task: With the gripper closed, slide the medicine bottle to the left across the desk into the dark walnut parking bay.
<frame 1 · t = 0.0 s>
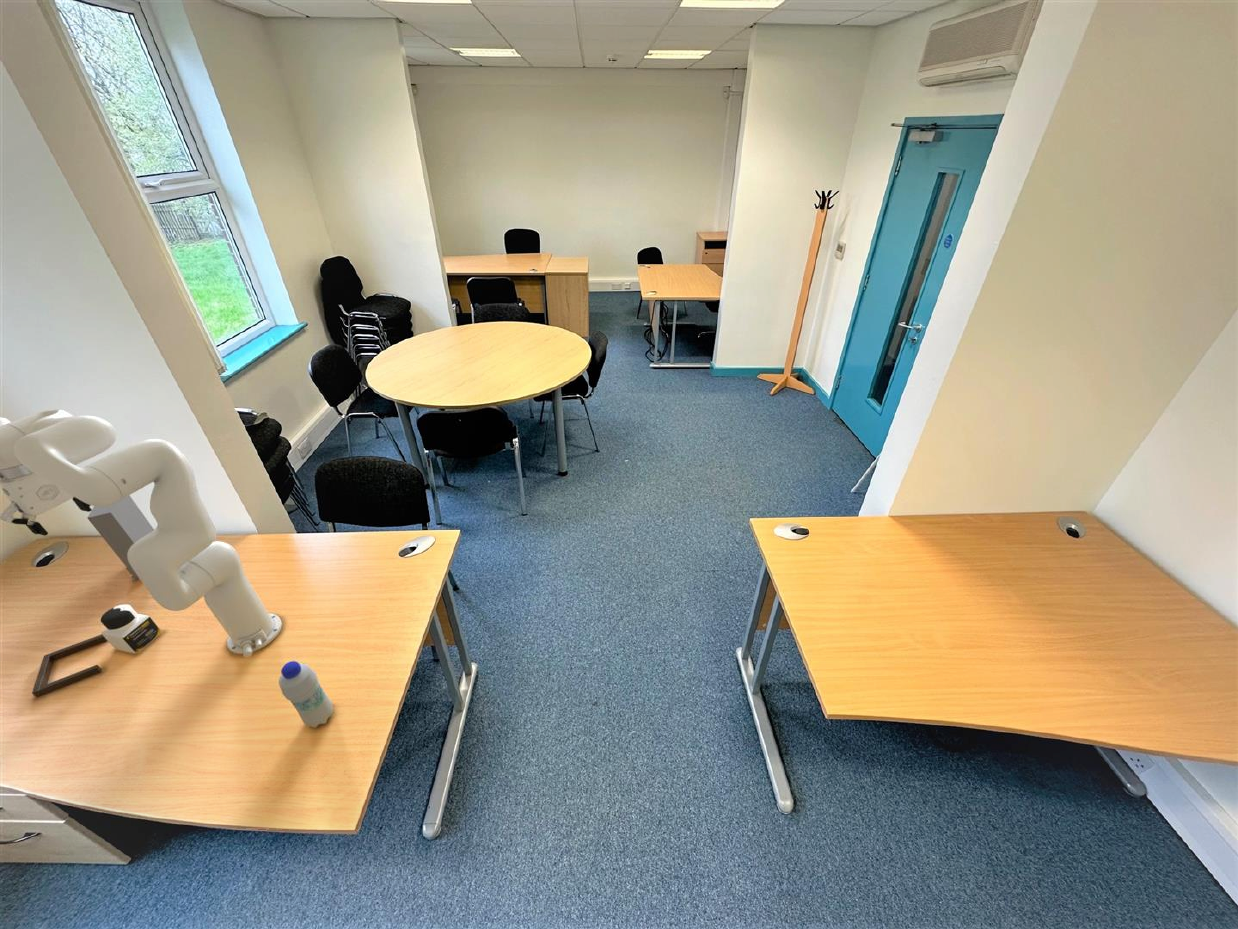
hand: (65, 521, 125), 31 cm above the table, tool pointing down, fingers open, 9 cm apart
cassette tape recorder: (151, 563, 156), on the table
bottle: (321, 717, 114), on the table
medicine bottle: (140, 641, 131), on the table
parking bay: (77, 665, 125), on the table
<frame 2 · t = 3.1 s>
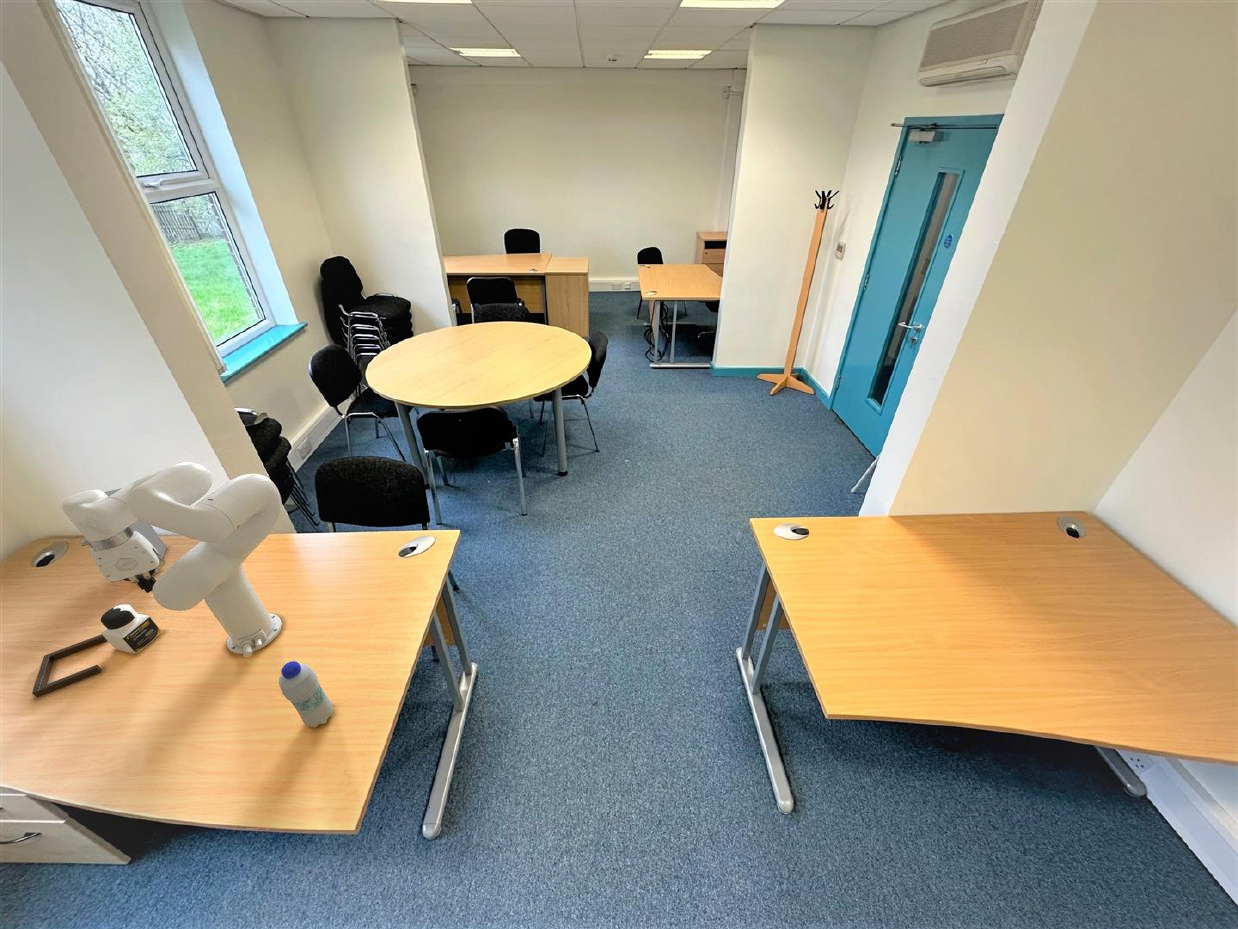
hand: (151, 588, 127), 15 cm above the table, tool pointing down, fingers closed
nothing on the table moved.
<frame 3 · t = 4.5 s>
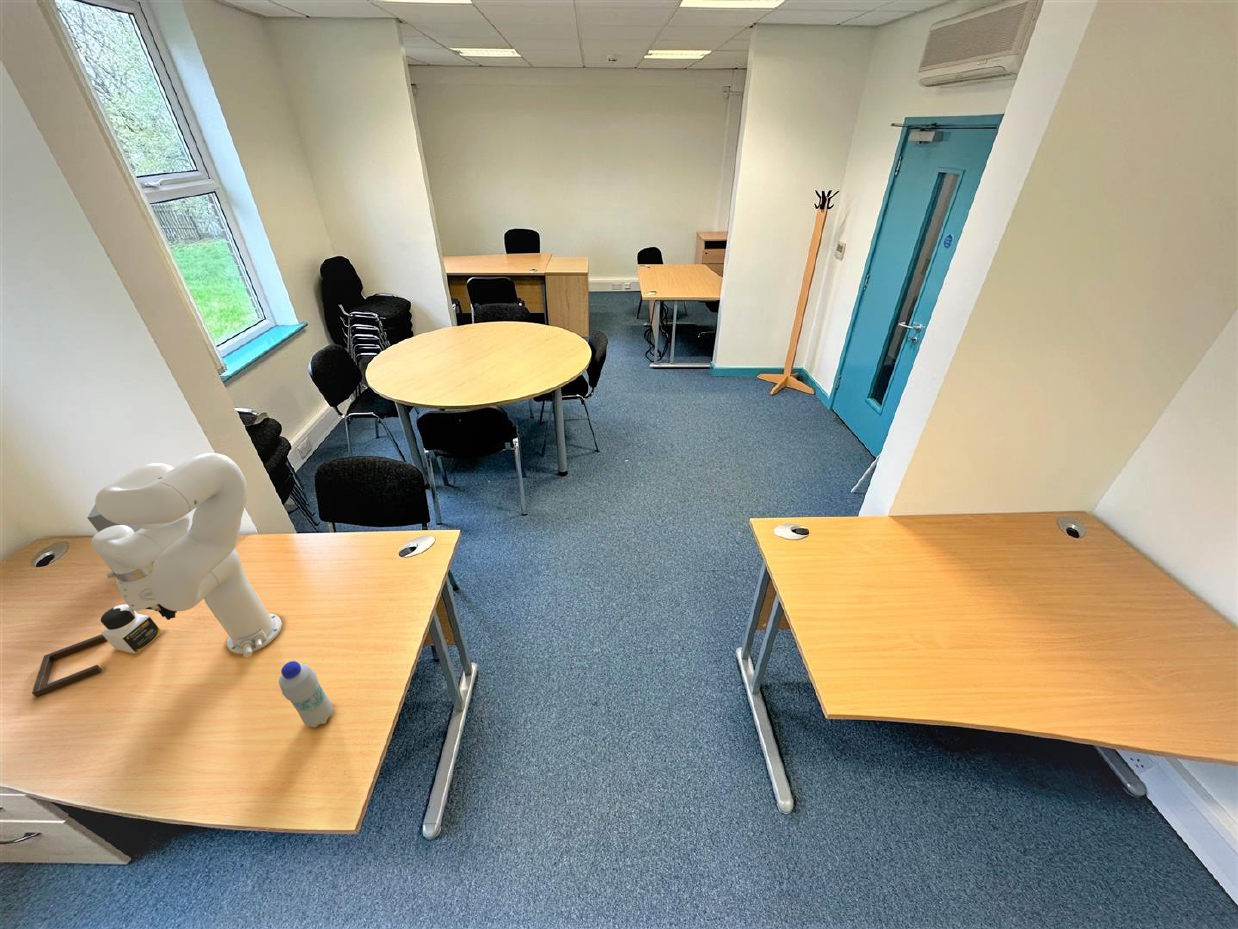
hand: (171, 615, 133), 4 cm above the table, tool pointing down, fingers closed
nothing on the table moved.
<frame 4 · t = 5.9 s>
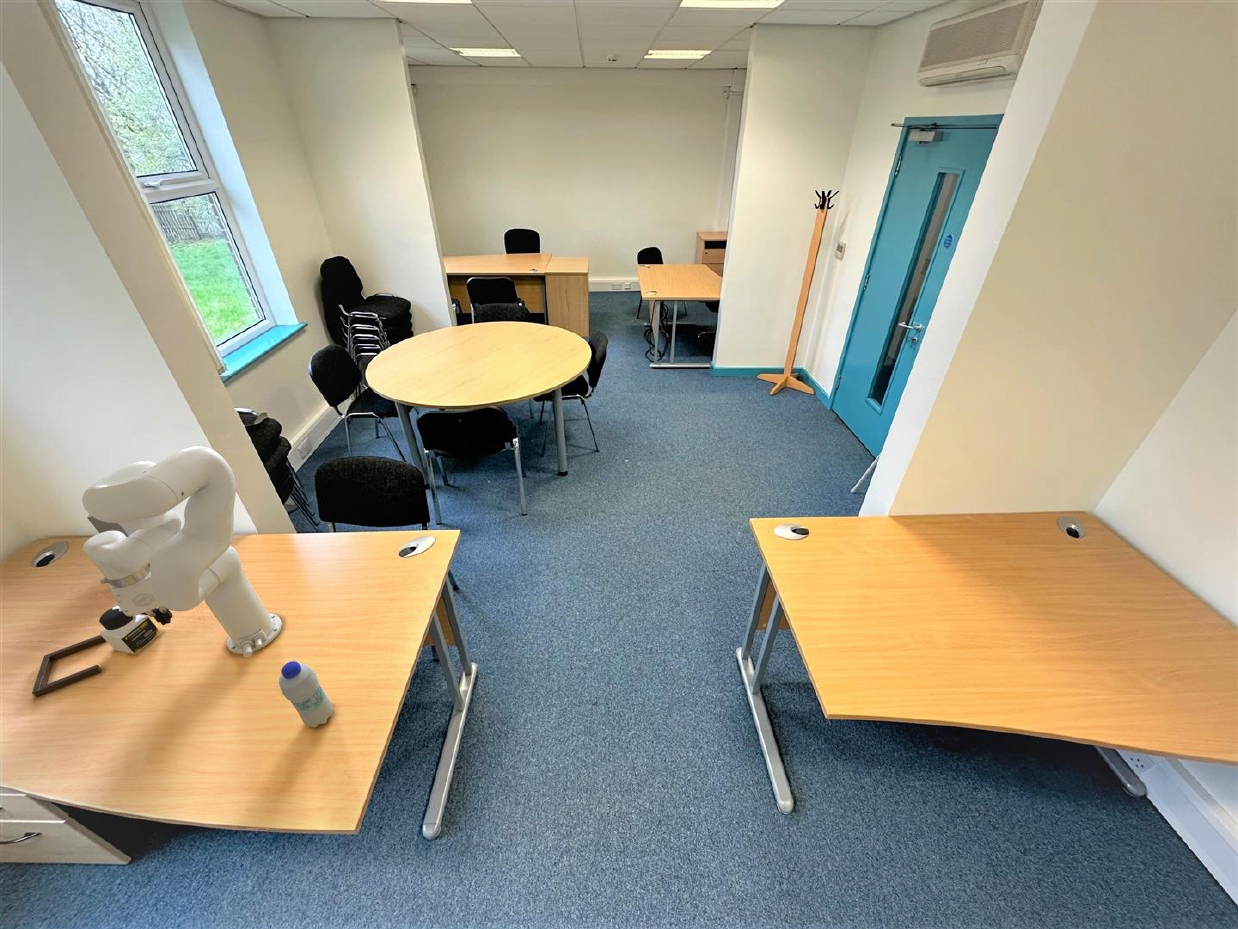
hand: (167, 620, 133), 3 cm above the table, tool pointing down, fingers closed
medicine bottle: (139, 642, 131), on the table, touching gripper
everything else where it was.
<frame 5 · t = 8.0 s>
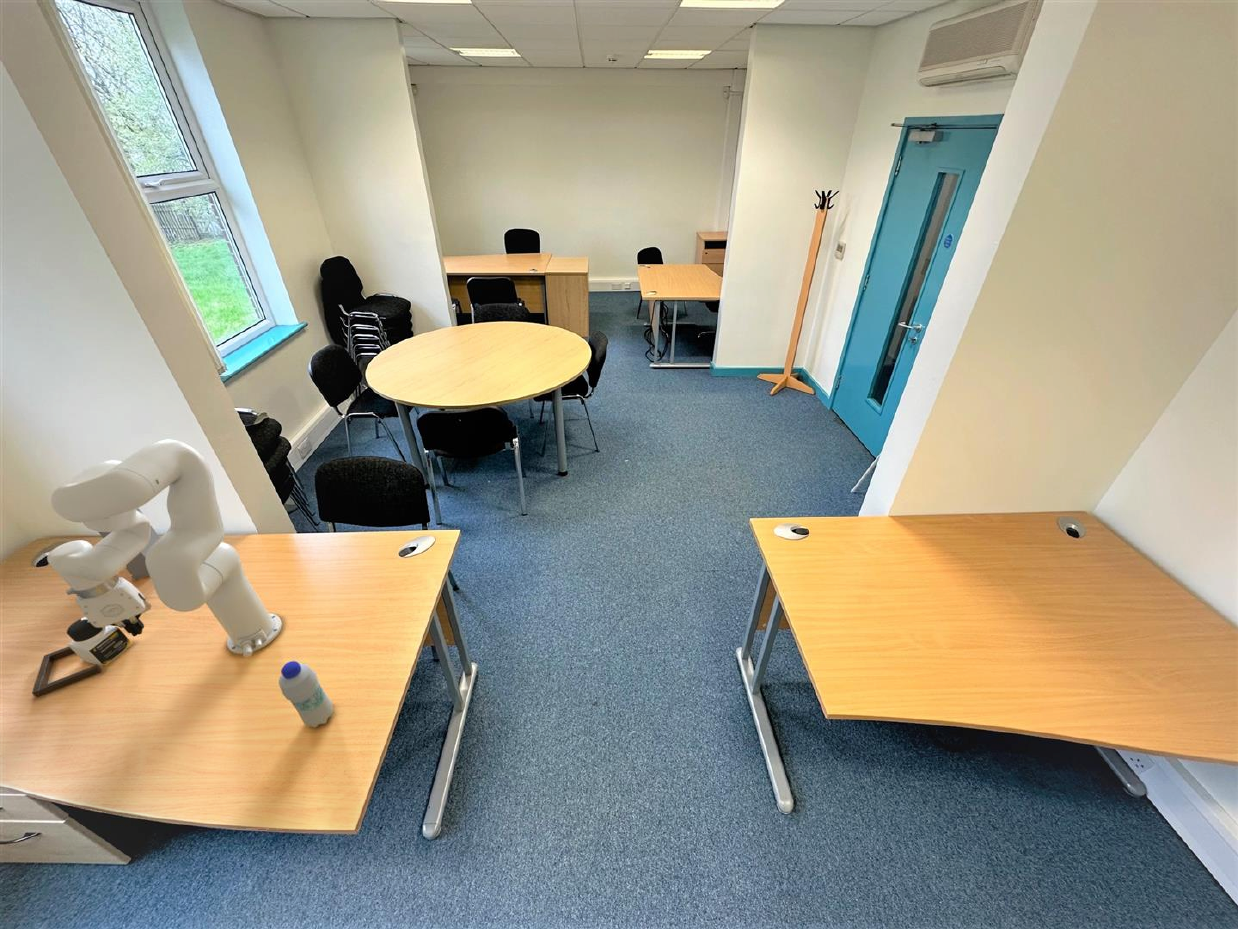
hand: (138, 631, 130), 3 cm above the table, tool pointing down, fingers closed
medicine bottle: (109, 653, 128), on the table, touching gripper
everything else where it was.
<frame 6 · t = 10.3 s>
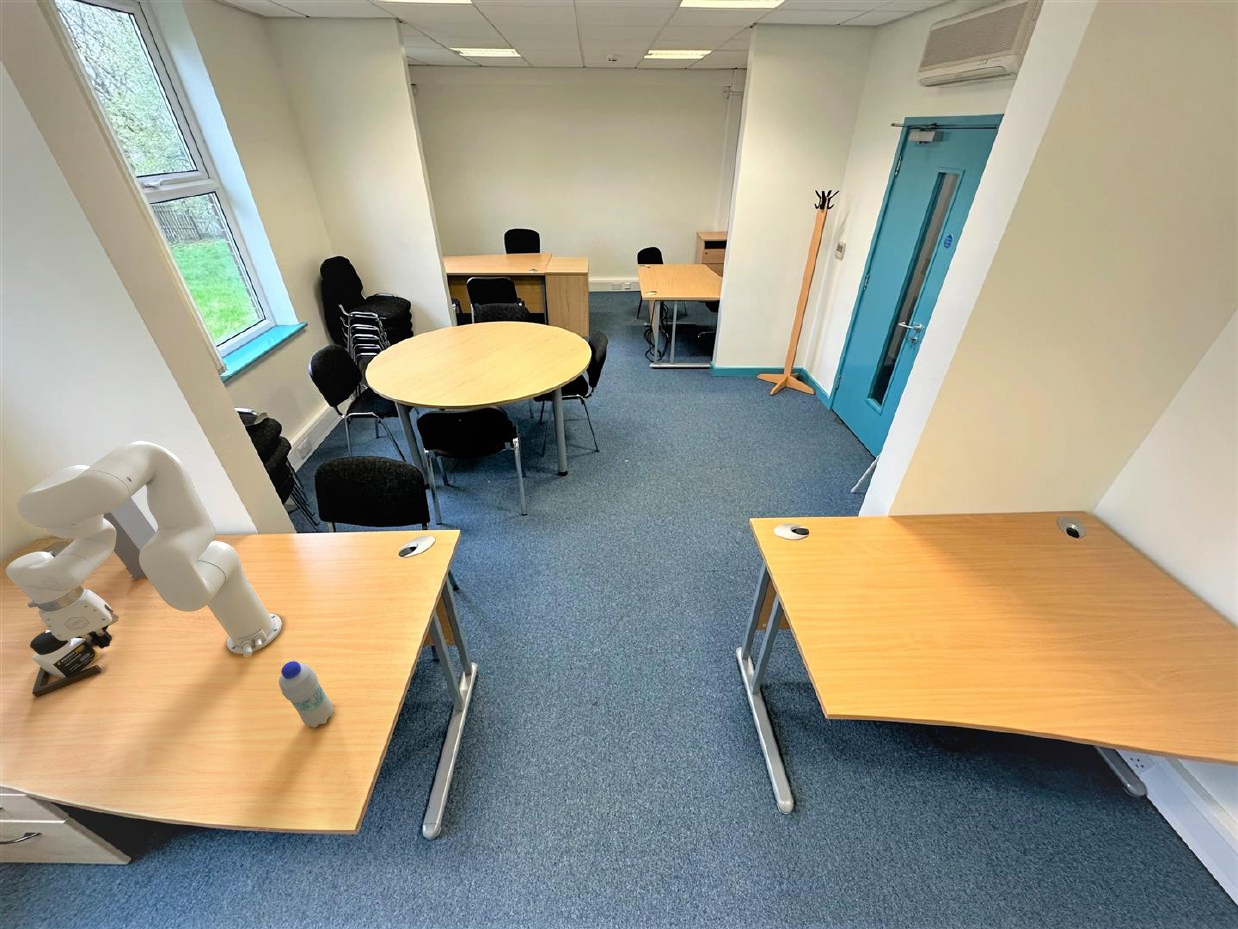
hand: (106, 643, 127), 3 cm above the table, tool pointing down, fingers closed
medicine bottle: (76, 665, 125), on the table, touching gripper, parking bay
everything else where it was.
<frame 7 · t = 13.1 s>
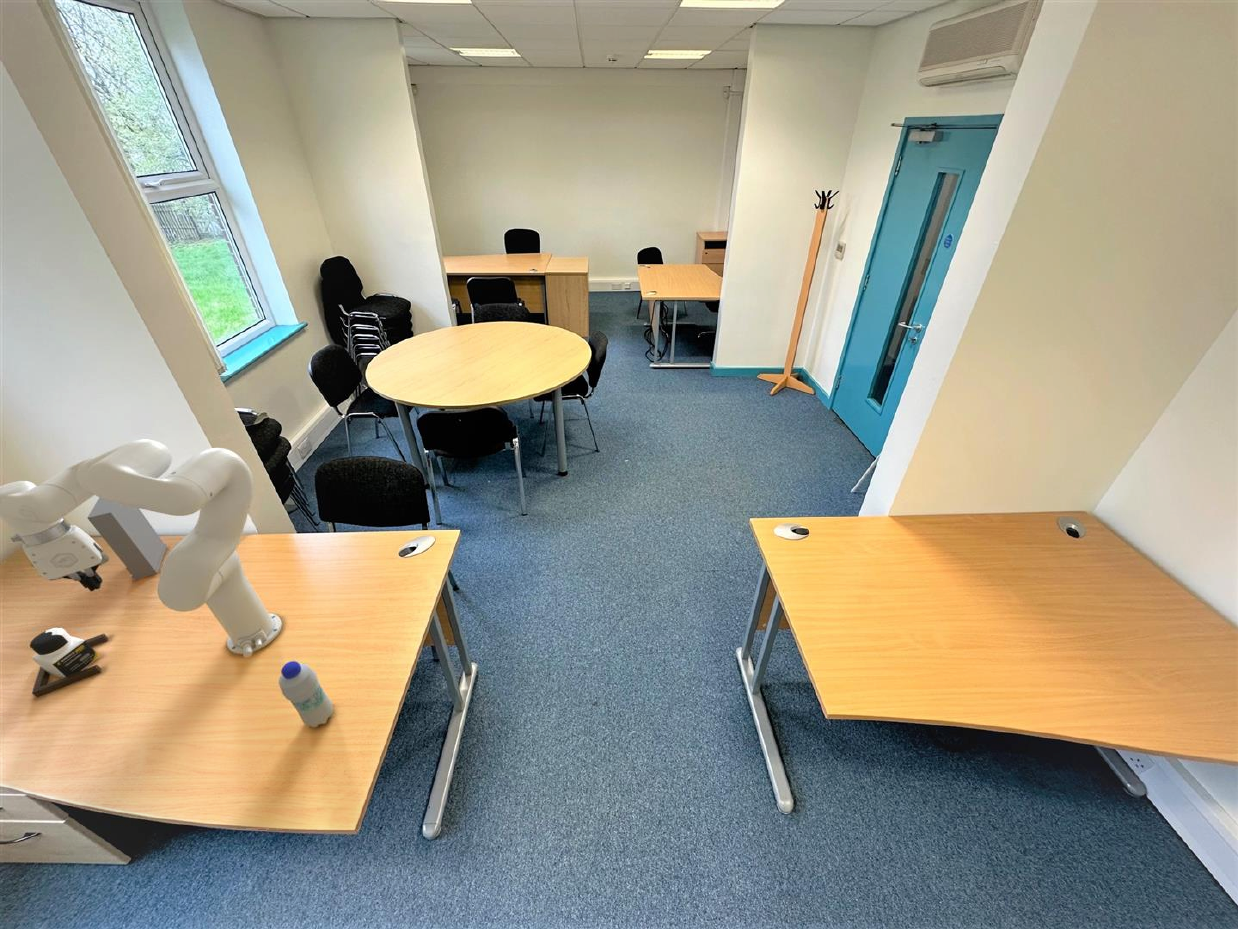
hand: (96, 586, 120), 21 cm above the table, tool pointing down, fingers closed
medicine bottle: (76, 665, 125), on the table
everything else where it was.
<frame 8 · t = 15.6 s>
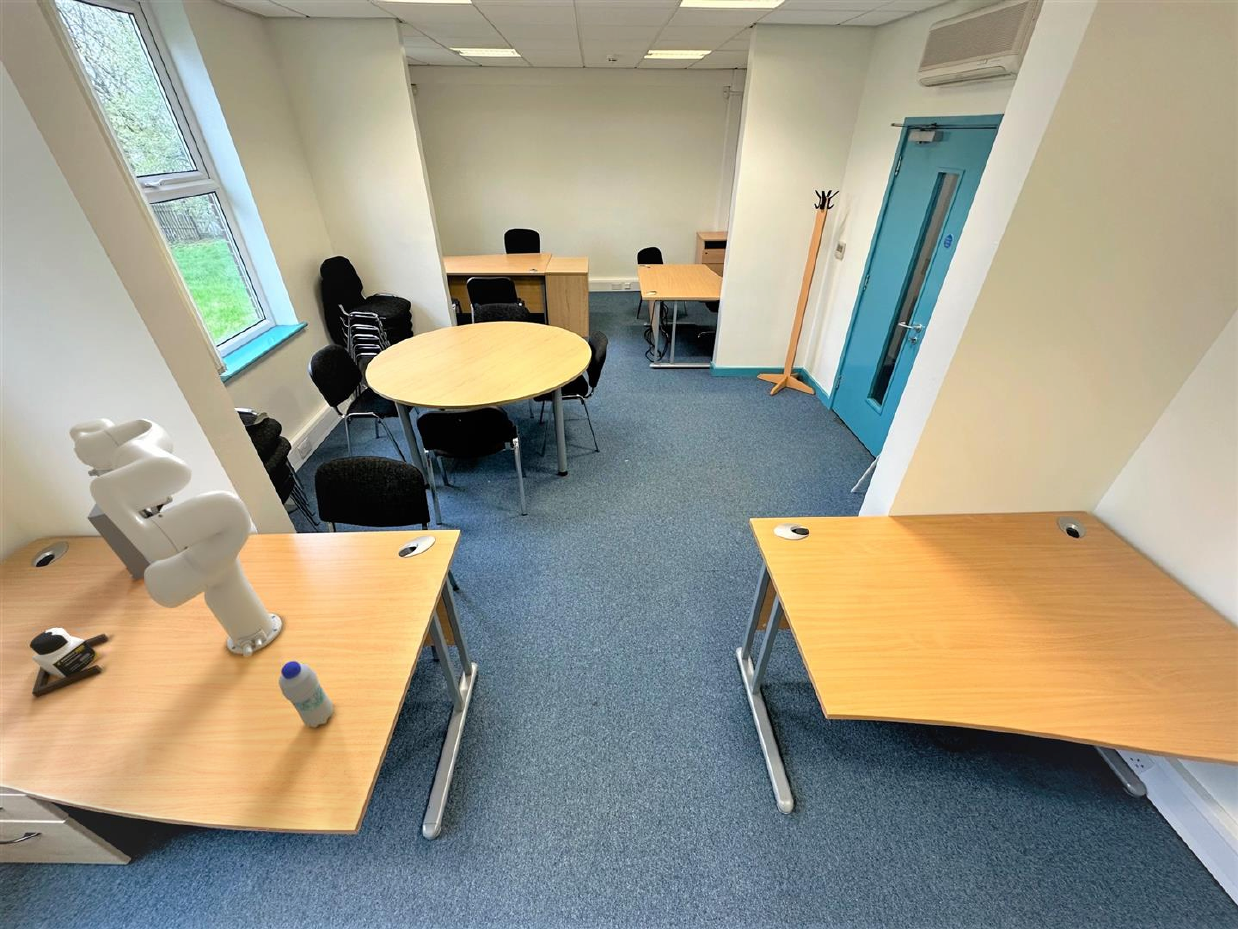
hand: (159, 525, 127), 29 cm above the table, tool pointing down, fingers closed
nothing on the table moved.
at the end: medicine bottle inside the target area (0.6 cm from its centre), on the table; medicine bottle tilted 0°; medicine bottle moved 12.9 cm from its start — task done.
